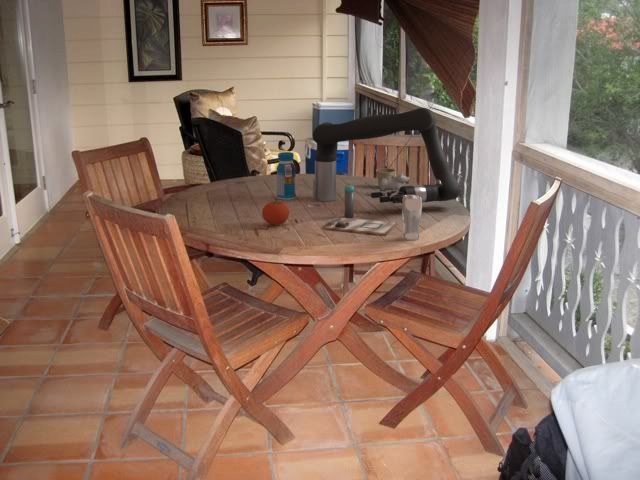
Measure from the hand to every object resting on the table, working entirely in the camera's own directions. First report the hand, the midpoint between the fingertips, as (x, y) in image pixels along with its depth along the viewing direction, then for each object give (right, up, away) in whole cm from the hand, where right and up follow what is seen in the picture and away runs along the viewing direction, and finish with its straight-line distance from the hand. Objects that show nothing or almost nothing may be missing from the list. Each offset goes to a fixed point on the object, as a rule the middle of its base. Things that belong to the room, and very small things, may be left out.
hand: (375, 197), depth 268 cm
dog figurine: (+11, +3, +36) cm, 38 cm away
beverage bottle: (-37, +2, +31) cm, 49 cm away
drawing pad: (-7, -12, -15) cm, 20 cm away
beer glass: (+10, -16, -30) cm, 35 cm away
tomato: (-39, -11, -12) cm, 42 cm away
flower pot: (+9, +7, +51) cm, 52 cm away
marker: (-11, -8, -1) cm, 13 cm away
